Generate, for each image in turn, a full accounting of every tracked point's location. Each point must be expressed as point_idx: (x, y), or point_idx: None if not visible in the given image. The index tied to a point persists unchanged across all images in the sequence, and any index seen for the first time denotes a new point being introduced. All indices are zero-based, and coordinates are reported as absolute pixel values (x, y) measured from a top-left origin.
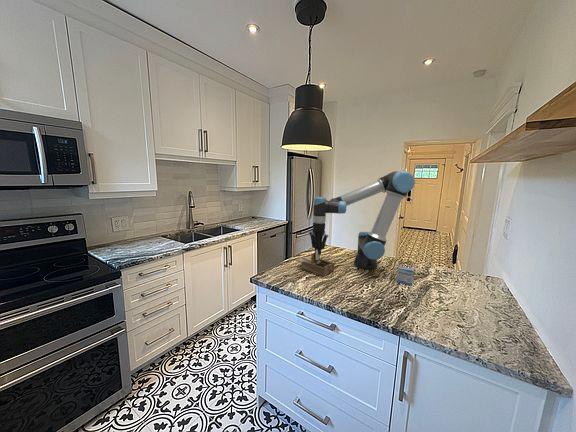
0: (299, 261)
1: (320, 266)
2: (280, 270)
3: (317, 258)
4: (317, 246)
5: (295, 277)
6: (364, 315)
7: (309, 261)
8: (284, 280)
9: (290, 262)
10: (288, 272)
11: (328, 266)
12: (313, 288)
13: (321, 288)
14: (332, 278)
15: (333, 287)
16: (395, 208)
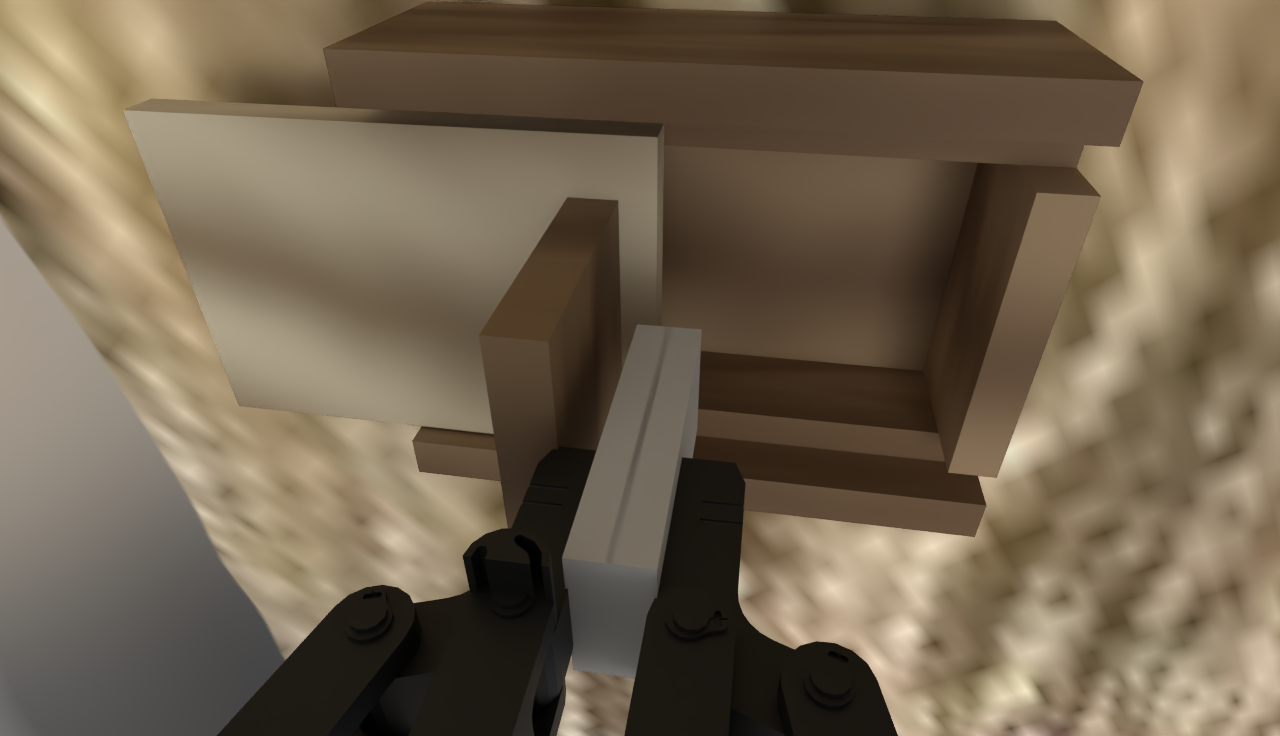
0: (326, 406)
1: (871, 493)
2: (307, 525)
3: (692, 455)
4: (513, 668)
5: None
6: None
7: (476, 336)
8: (571, 680)
9: (69, 206)
10: (424, 523)
11: (1029, 364)
12: (960, 695)
13: (1056, 666)
14: (1125, 362)
15: (1220, 595)
16: None
